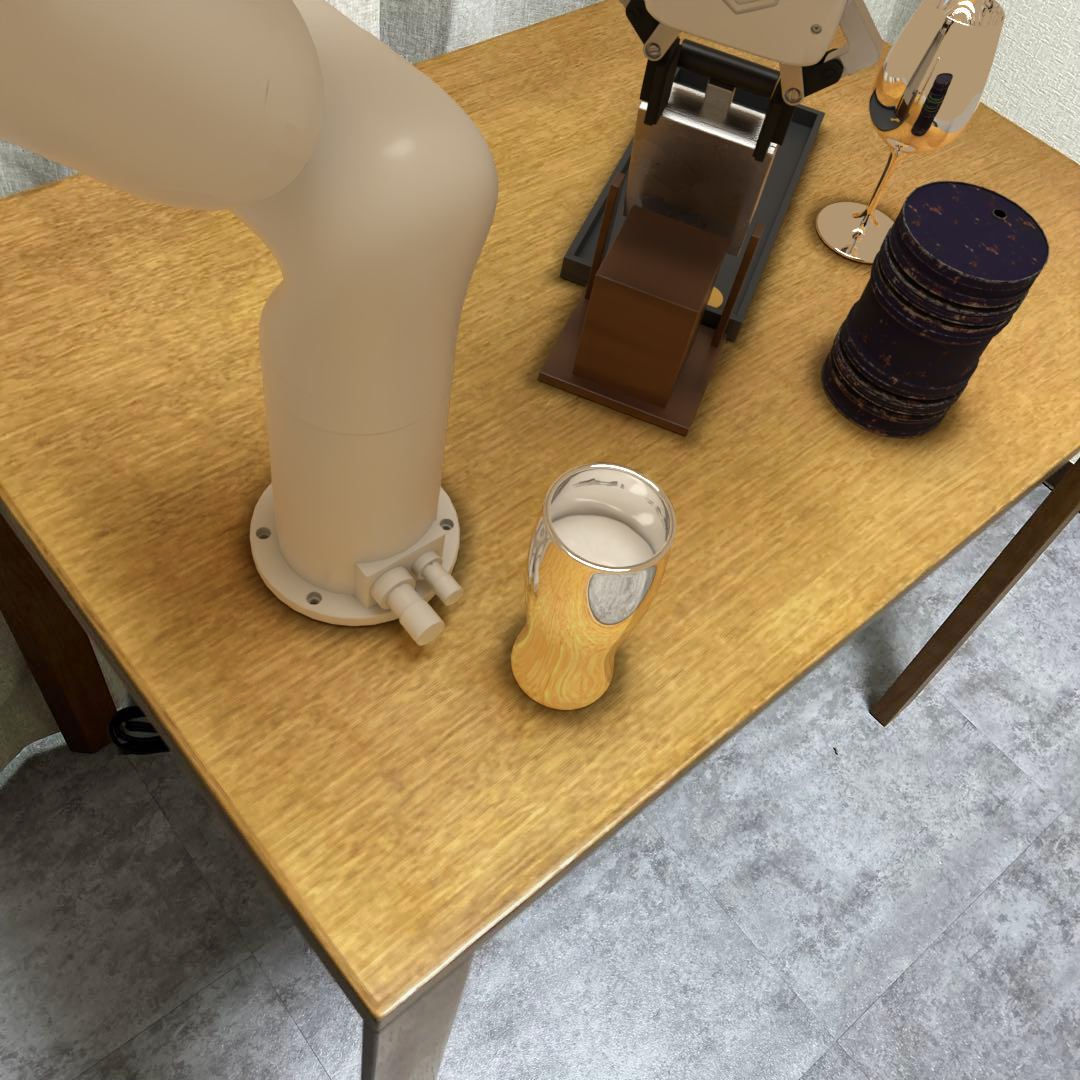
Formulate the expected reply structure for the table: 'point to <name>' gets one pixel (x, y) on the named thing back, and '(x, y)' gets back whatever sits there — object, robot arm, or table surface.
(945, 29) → the wineglass
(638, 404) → the stand
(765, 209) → the tray
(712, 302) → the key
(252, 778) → the table surface
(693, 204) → the translucent box
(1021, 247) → the dark purple cylinder
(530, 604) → the beer glass
